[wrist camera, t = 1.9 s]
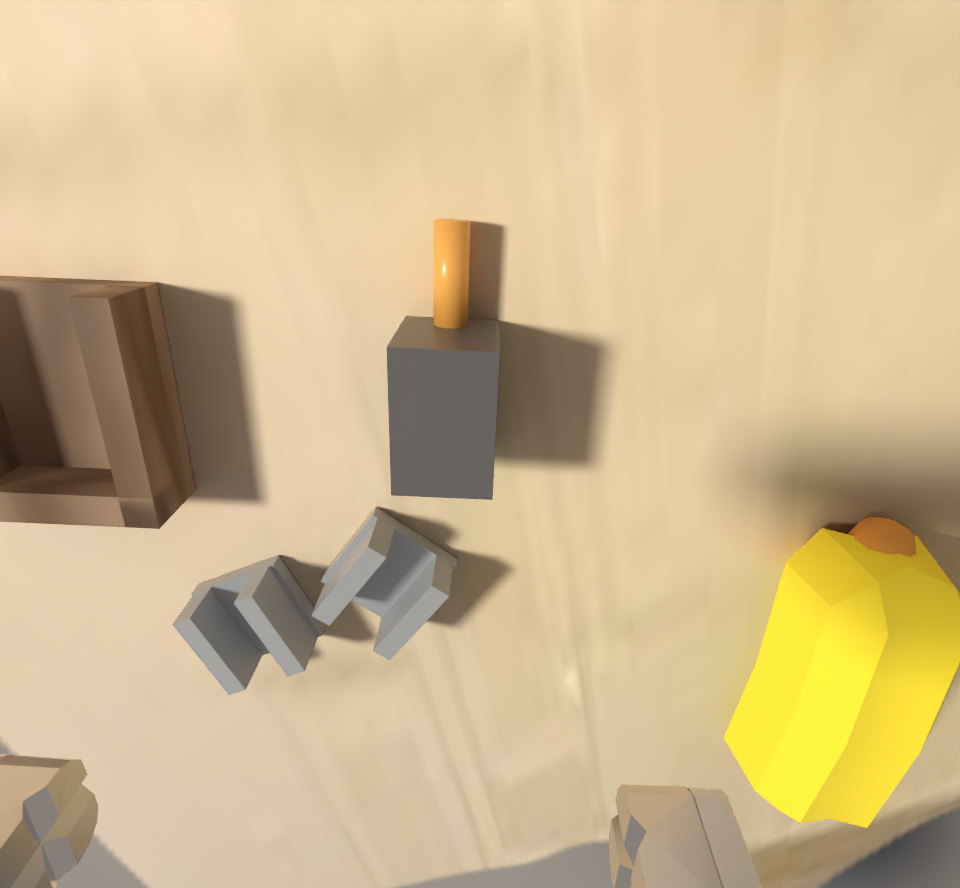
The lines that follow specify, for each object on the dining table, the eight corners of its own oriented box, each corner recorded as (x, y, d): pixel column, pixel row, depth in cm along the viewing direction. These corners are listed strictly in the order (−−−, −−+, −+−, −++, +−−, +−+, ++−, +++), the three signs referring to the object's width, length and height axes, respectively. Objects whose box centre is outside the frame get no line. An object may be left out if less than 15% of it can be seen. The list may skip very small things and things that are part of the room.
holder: (156, 282, 25) (108, 298, 22) (196, 489, 29) (159, 528, 26) (-54, 273, 25) (-134, 288, 22) (14, 481, 29) (-44, 519, 26)
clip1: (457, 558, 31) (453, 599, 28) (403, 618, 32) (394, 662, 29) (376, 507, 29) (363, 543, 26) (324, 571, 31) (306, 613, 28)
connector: (503, 220, 24) (506, 232, 19) (492, 446, 28) (492, 499, 23) (404, 216, 24) (383, 227, 19) (408, 442, 28) (391, 495, 24)
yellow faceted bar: (946, 505, 29) (789, 492, 29) (1066, 594, 23) (867, 579, 23) (828, 759, 36) (702, 749, 36) (894, 877, 30) (744, 865, 30)
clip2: (278, 555, 31) (256, 595, 28) (325, 625, 33) (309, 669, 30) (198, 584, 32) (168, 625, 29) (248, 650, 34) (225, 696, 31)
